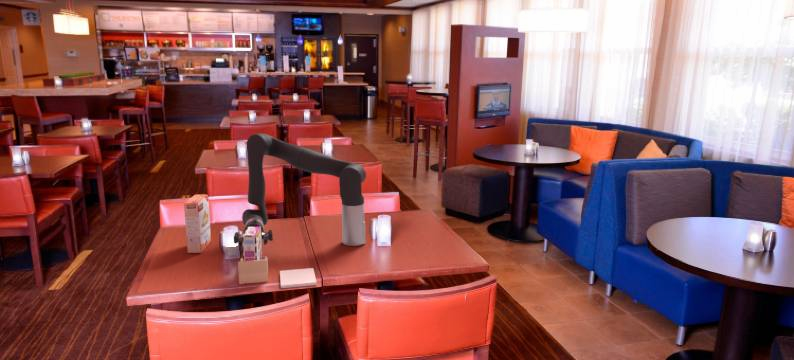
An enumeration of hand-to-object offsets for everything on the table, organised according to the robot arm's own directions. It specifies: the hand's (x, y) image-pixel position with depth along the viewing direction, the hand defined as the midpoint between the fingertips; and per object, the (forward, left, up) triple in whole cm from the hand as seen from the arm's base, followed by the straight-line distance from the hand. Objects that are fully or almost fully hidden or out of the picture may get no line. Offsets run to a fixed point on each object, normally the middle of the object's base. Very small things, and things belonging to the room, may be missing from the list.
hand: (253, 242), depth 198 cm
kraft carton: (0, +6, -9) cm, 11 cm away
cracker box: (+22, -25, -9) cm, 35 cm away
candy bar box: (0, +8, -9) cm, 12 cm away
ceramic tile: (-15, +16, -9) cm, 24 cm away
